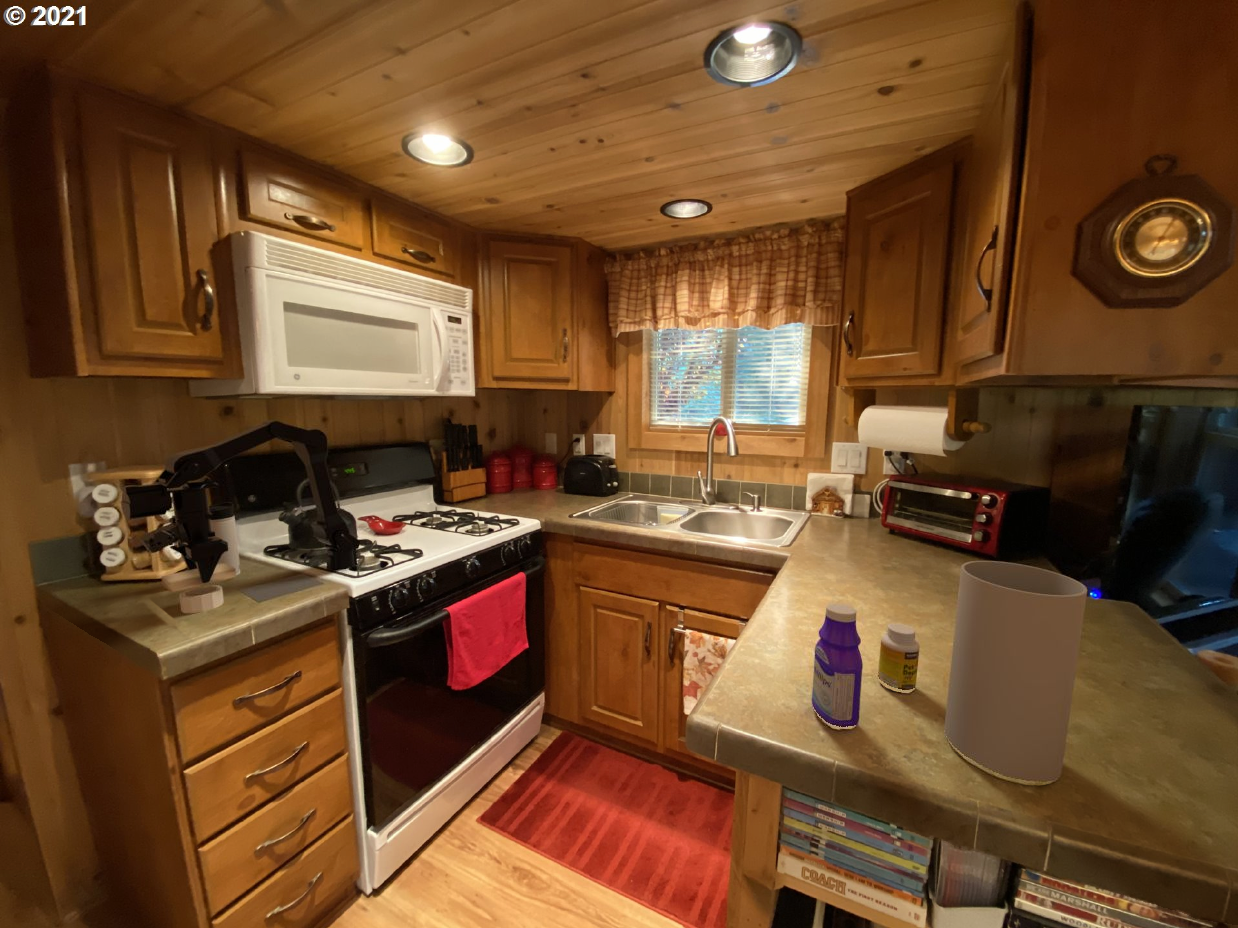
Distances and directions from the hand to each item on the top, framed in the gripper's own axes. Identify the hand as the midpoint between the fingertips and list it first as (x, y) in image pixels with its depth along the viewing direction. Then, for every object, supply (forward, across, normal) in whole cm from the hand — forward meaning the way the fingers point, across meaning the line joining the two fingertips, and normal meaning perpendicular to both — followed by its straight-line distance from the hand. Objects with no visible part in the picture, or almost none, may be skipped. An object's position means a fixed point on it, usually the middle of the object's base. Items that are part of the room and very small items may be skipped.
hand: (200, 578), depth 107 cm
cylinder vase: (+8, +144, +46) cm, 151 cm away
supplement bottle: (+8, +131, +56) cm, 143 cm away
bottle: (+8, +124, +41) cm, 131 cm away
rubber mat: (+7, +2, +15) cm, 17 cm away
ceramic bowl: (+7, 0, 0) cm, 7 cm away
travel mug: (+8, -19, +10) cm, 23 cm away
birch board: (0, 0, 0) cm, 0 cm away
